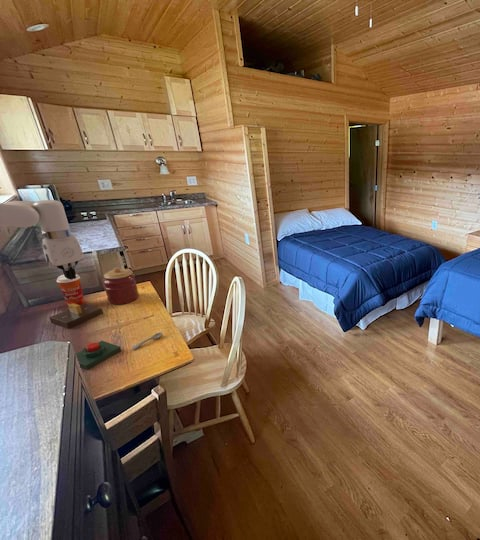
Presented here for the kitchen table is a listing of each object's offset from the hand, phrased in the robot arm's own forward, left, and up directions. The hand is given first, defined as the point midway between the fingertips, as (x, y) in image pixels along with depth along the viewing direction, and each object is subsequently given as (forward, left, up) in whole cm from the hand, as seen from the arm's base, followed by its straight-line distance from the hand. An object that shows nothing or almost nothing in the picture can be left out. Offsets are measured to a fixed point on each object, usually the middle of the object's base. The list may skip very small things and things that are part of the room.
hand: (71, 278), depth 119 cm
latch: (+5, +14, -22) cm, 27 cm away
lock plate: (+5, +14, -25) cm, 29 cm away
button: (-10, -20, -21) cm, 31 cm away
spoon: (+4, -29, -25) cm, 39 cm away
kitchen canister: (+26, +14, -25) cm, 39 cm away
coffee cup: (+13, +28, -25) cm, 40 cm away
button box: (-10, -20, -25) cm, 34 cm away
